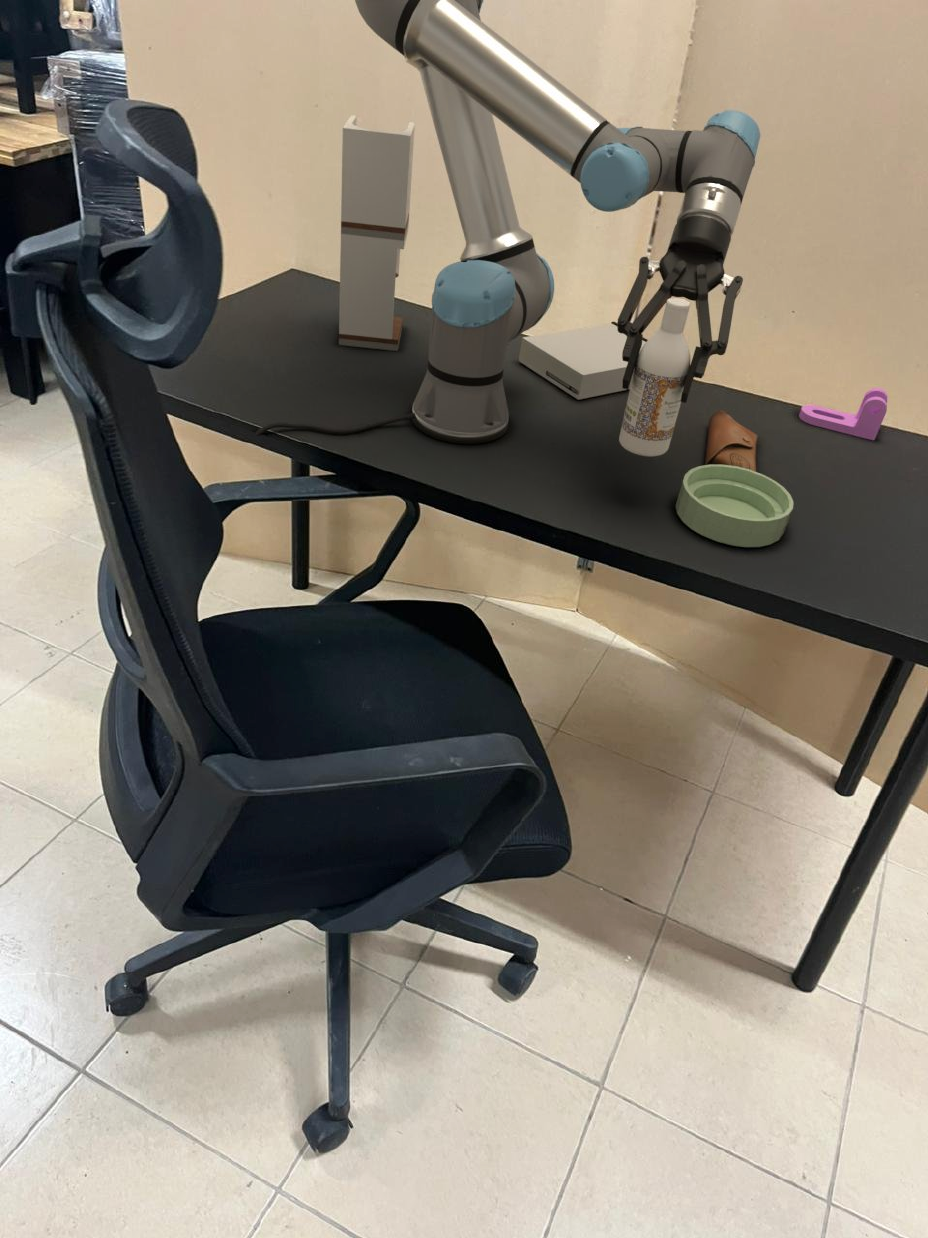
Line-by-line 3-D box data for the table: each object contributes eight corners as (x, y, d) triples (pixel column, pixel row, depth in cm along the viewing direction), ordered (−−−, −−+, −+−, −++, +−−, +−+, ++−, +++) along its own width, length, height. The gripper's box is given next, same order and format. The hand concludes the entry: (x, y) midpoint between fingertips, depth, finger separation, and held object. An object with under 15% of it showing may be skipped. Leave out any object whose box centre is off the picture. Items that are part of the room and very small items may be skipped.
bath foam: (641, 462, 120) (678, 314, 108) (607, 439, 124) (639, 294, 112) (678, 452, 123) (718, 308, 111) (644, 430, 128) (679, 289, 115)
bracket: (875, 428, 157) (891, 390, 153) (874, 440, 153) (890, 402, 149) (800, 409, 161) (813, 372, 156) (797, 420, 156) (811, 383, 152)
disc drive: (672, 382, 164) (679, 355, 161) (578, 401, 153) (584, 373, 150) (609, 346, 175) (614, 321, 172) (517, 362, 164) (521, 335, 161)
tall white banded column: (397, 350, 162) (410, 135, 141) (338, 344, 162) (342, 127, 140) (402, 328, 171) (414, 122, 150) (346, 322, 171) (351, 114, 149)
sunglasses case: (760, 484, 135) (748, 445, 132) (713, 497, 138) (701, 459, 135) (758, 434, 149) (747, 398, 146) (715, 446, 152) (704, 411, 149)
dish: (681, 540, 121) (690, 512, 118) (669, 485, 133) (677, 458, 130) (793, 555, 121) (804, 527, 118) (771, 498, 133) (781, 471, 130)
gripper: (630, 198, 116) (578, 361, 114) (785, 228, 112) (735, 397, 110) (629, 232, 124) (580, 385, 121) (774, 260, 120) (728, 420, 117)
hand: (654, 390), depth 115 cm, fingers closed on bath foam, 7 cm apart
